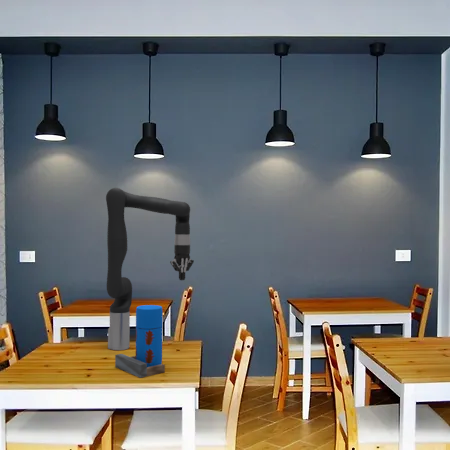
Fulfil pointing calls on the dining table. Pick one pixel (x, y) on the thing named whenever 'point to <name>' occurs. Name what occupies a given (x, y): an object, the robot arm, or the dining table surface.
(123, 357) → the bay
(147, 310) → the thermos
